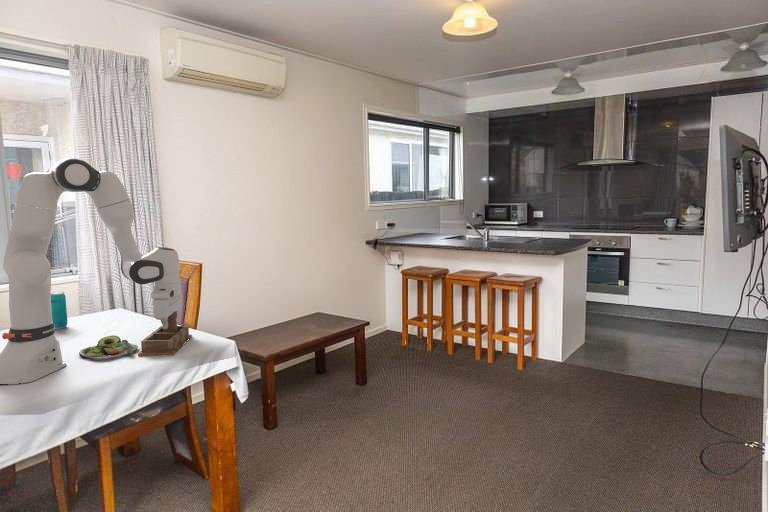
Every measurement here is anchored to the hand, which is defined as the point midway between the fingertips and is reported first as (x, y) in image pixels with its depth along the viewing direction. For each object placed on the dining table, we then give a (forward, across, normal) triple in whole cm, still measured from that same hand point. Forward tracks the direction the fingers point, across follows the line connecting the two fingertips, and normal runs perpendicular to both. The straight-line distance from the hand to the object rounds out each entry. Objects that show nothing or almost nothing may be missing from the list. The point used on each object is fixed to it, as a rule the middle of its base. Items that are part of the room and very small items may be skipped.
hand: (170, 324), depth 190 cm
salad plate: (+7, +11, -18) cm, 22 cm away
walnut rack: (+7, +5, 0) cm, 8 cm away
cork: (+6, 0, 0) cm, 6 cm away
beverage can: (+7, -22, -53) cm, 58 cm away
